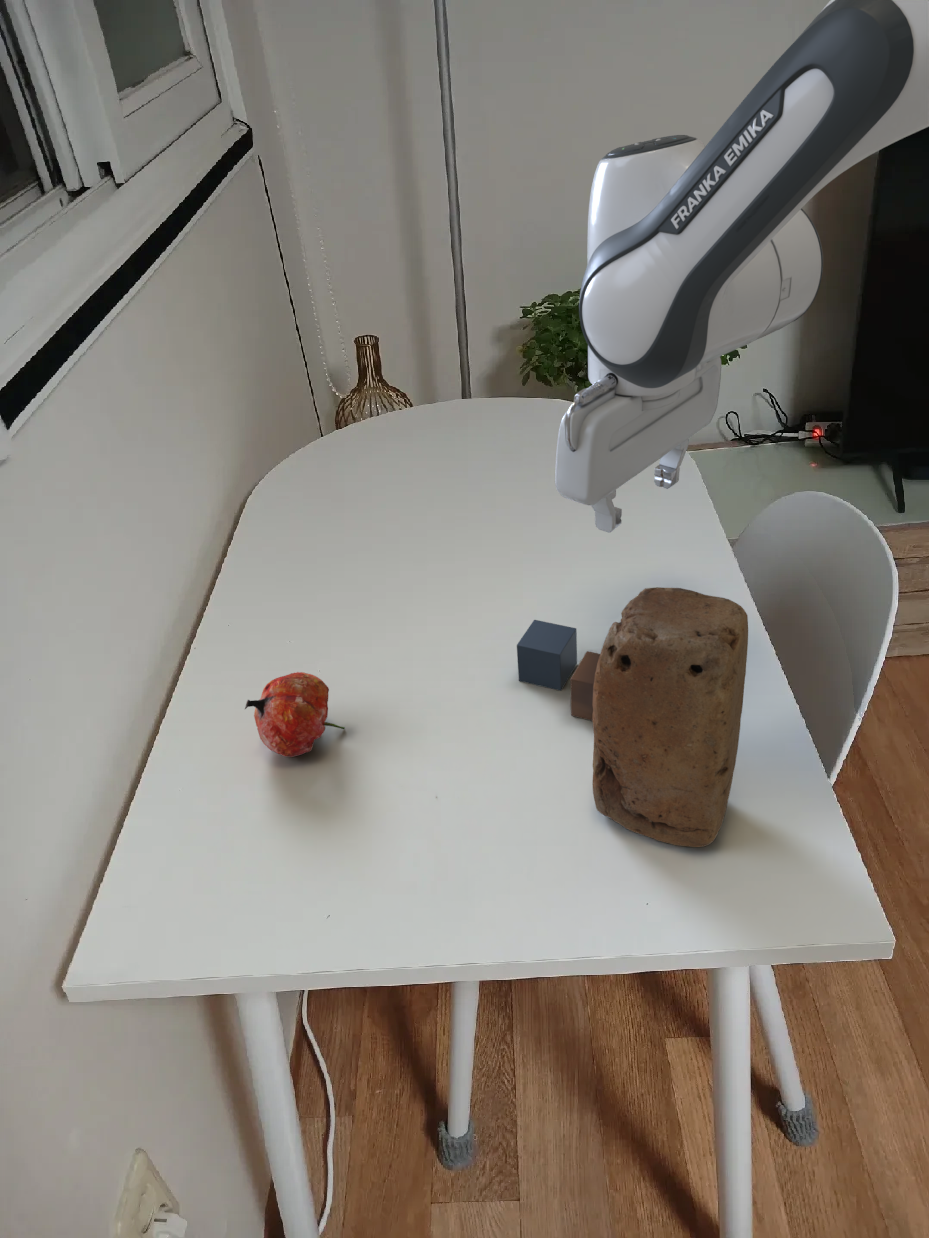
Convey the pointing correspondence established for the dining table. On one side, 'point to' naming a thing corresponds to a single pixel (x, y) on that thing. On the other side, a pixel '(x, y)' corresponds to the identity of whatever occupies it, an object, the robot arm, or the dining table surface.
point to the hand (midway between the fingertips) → (638, 505)
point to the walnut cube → (584, 686)
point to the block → (669, 714)
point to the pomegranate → (292, 713)
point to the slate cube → (547, 654)
